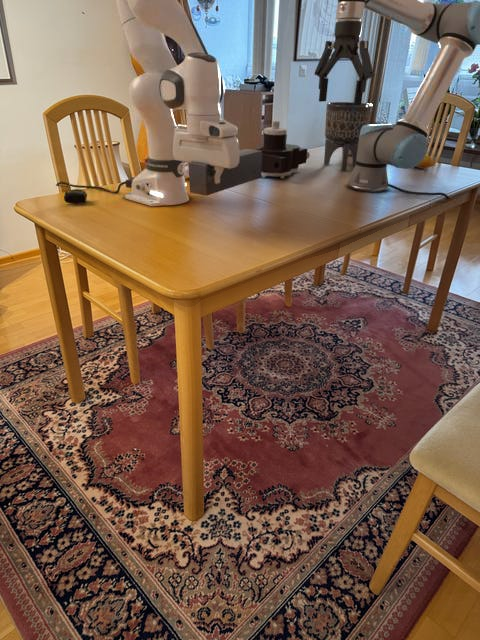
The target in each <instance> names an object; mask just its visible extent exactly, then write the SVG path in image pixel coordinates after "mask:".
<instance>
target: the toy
mask: <svg viewBox="0 0 480 640" xmlns="http://www.w3.org/2000/svg"><path fill="white" fill-rule="evenodd" d="M436 164H437V163H436V160H434V159H432V158H431V157H430V156H429V155H428V154H426V155H425V157H424V158H423V160H422V161H421V162H420V163H419V164H418V165H416V166H415V167H418V168H420V169H428V168H432V167H434V166H435V165H436Z"/></svg>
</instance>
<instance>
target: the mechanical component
mask: <svg viewBox="0 0 480 640" xmlns="http://www.w3.org/2000/svg"><path fill="white" fill-rule="evenodd" d="M287 138H288V129H287V128H286V127H280V121H279V120H272V126H271V127H265V128H264V129H263V145H262V146H258V147H257V148H256V150H260V151H262V168H261V178H267V177H279V178H280V179H285V176H291V175H292V173H298V171H299V167H300V165H303V164H304V165H305V164H307V160H309V158H310V156H311V154H310V152H309V151H308V148H304V147H301V146H299V145H297V144H290V143H287Z"/></svg>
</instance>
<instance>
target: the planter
mask: <svg viewBox="0 0 480 640" xmlns="http://www.w3.org/2000/svg"><path fill="white" fill-rule="evenodd" d="M373 107H374V106H373V104H372V103H367V102H362V103H361V105H354V101H333V102H327V103H326V109H325V124H324V125H325V126H324V139H325V144H324V156H323V157H324V158H323V165H325V166H328V165H330V163H331V158H332V156H333V154H334V153H335V151H336V150H337V149H340V148H341V150H342V153H341V166H340V170H341V172H345V171H347V167H348V166H347V165H348V159H349V155H348V152H349V150H350V151H351V153H352V155H351V157H352V158H351V159H352V160H351V161H352V166H353V167H355V165H356V158H357V150H358V142H359V135H360V131H361V128H362V127H363V126H364V125H370V121H371V116H372V112H373Z"/></svg>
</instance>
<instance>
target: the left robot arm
mask: <svg viewBox="0 0 480 640" xmlns="http://www.w3.org/2000/svg"><path fill="white" fill-rule="evenodd" d="M115 4H116V7H117V13H118V16H119V20H120V24H121V28H122V30H123V33H124V36H125V40H126V43H127V45H128V49H129V52H130V55H131V56H132V58H133V59H134V60H135V61H136V62H137V63H138V64H139V66H140V67H141V68H142V70H143V71H144V73H142V74H139V75H138V76H136V77H134V78H133V79H132V80H131V82H130V84H129V88H128V97H129V100H130V103H131V104H132V106H133V107H134V108H135V109H136V110H137V111H138V112H139V114H140V117H141V119H142V123H143V125H144V128H145V131H146V140H147V149H148V157H146V158H144V159H142V164H145V167H144V169H143V170H142V171H141V172H140V173H138V174H137V175H136V176H135V177H130V178H128V179H125V181H122V182H120V183H119V184H118V186H117V189H116V190H115V191H112V190H109V189H108V188H105V187H102V186H98V185H97V186H96V185H80V184H79V185H78V184H73V183H68V182H66V181H59V182H57V183H56V184H55V186H56V187H58V186H59V185H65V186H69V187H71V188H77V189H97V190H102V191H104V192H107V193H111V194H118V193H120V190H121V187H122V186H123V185H125V188H129V189H131V191H129V192H128V193H126V194H125V196H124V198H125V199H126V200H128V201H129V200H130V201H132V202H135V203H139V204H143V205H147V206H149V207H160V206H175V205H182V204H184V203H187V202H189V200H190V197H189V194H188V191H187V182H186V180H185V177H184V168H185V167H184V164H185V163H186V162H187V166H188V168H189V164H188V163H189V162H199V163H205V164H210V166H215V171H216V173H215V176H212V183H216V184H218V183H220V176H221V174H222V172H223V170H224V168H229V169H230V168H234V167H237V165H238V164H239V150H240V143H239V140H238V138H237V135H238V133H239V132H238V131H239V130H238V126H236V125H235V124H233V123H231V122H229V121H227V120H226V119H224V118H223V117H222V110H221V105H220V104H222V101H223V100H224V97H225V94H226V85H225V80H224V78H223V75H222V74H221V72H220V67H219V61H218V60H217V58H216V57H215V56H213V55H212V54H209V53H208V50H207V48H206V46H205V44H204V41H203V39H202V38H201V35H200V34H199V31H198V30H197V28H196V26H195V23H194V22H193V19H192V18H191V16H190V14H189V13H188V12H187V10H186V9H185V8H184V7H183V6H182V4H180V3H179V1H178V0H115ZM165 36H167V37H169V38H170V39H172V40H173V41H174V42H175V43H176V44H177V45H178V46H179V48H180V49H181V51H182V53H183V55H184V59H183V61H182V62H181V63H179V64H177V62H176V60H175V59H174V56H173V54H172V53H171V51H170V49H169V46H168V43H167V41H166V37H165ZM181 110H186V111H185V112H186V113H185V115H186V119H185V120H186V124H183V123H178V124H177V123H176V120H175V117H174V113H173V111H181ZM69 184H70V185H69Z"/></svg>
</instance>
